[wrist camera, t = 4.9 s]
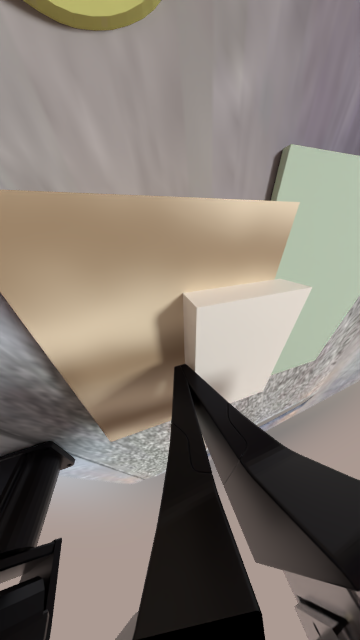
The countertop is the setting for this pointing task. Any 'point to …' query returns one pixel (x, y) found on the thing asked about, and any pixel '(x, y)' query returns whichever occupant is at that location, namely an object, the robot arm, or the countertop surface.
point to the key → (95, 12)
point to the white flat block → (240, 333)
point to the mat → (319, 244)
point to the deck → (127, 285)
